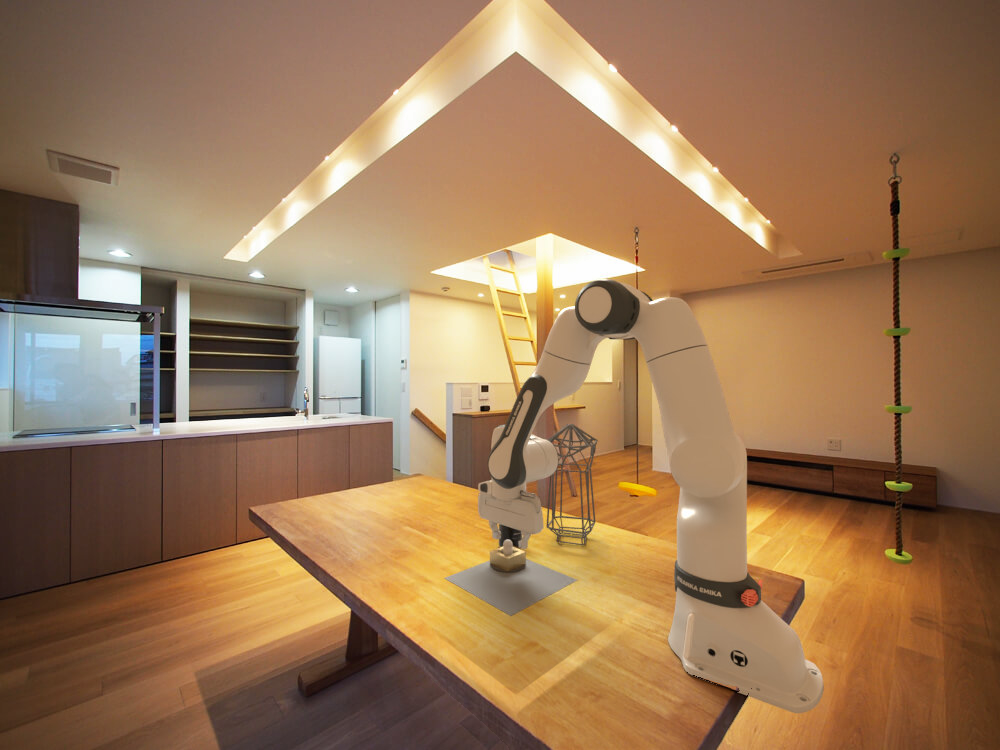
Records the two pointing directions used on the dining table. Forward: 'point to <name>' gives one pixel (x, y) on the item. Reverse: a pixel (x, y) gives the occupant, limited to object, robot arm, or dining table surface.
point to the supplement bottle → (509, 535)
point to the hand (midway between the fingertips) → (509, 543)
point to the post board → (511, 583)
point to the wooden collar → (507, 558)
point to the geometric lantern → (588, 443)
